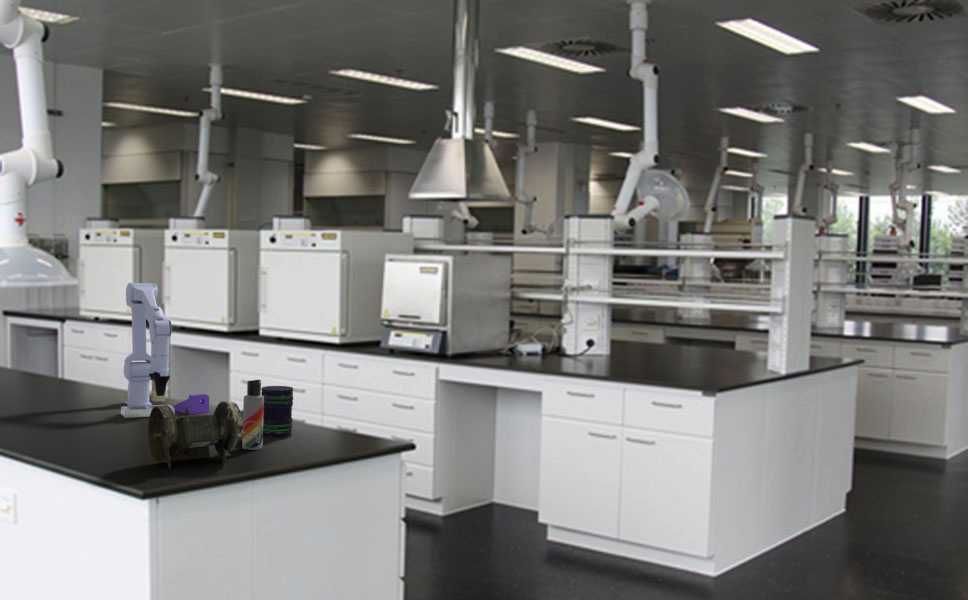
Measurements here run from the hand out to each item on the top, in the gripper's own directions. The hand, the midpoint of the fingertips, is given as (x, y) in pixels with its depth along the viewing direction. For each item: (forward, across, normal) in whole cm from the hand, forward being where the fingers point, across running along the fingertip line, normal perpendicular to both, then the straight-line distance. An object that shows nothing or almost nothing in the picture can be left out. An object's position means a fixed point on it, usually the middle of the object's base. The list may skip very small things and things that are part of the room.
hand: (158, 394), depth 323 cm
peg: (+2, 0, 0) cm, 2 cm away
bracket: (+7, -4, +11) cm, 14 cm away
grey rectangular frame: (+7, 0, -4) cm, 8 cm away
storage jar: (+7, +50, +26) cm, 57 cm away
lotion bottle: (+7, +66, +14) cm, 68 cm away
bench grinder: (+7, +79, -6) cm, 80 cm away
